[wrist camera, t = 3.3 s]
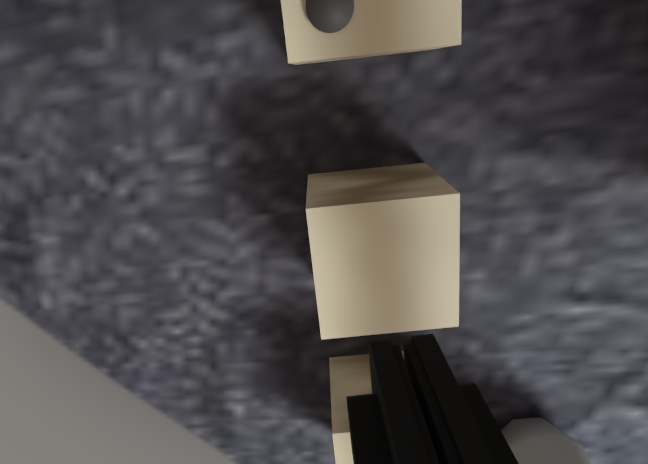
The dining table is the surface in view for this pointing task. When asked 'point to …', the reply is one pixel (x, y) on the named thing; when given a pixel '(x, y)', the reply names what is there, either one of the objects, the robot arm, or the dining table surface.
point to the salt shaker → (542, 443)
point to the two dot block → (367, 28)
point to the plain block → (384, 250)
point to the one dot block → (346, 381)
